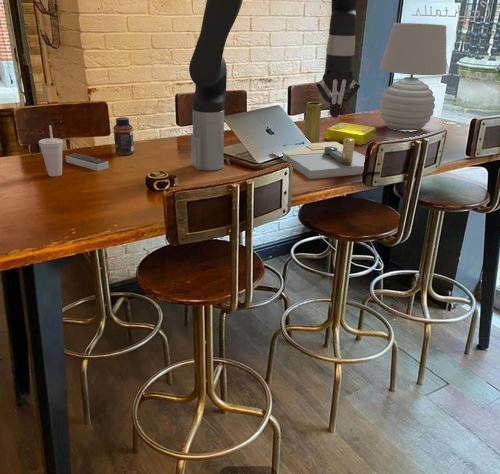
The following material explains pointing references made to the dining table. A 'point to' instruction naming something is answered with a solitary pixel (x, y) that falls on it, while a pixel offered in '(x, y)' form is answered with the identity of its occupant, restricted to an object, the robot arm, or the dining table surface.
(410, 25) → the table lamp
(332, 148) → the latch arm
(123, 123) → the supplement bottle
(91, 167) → the multiport hub
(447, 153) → the dining table surface
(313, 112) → the vase
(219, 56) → the robot arm
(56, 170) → the smoothie
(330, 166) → the grey flat slab
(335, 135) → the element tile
